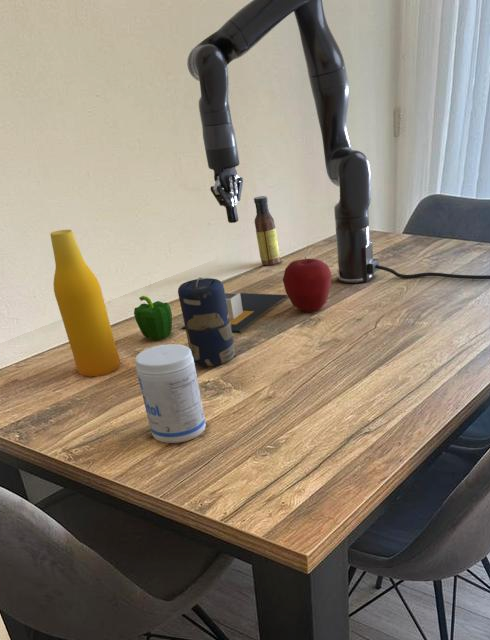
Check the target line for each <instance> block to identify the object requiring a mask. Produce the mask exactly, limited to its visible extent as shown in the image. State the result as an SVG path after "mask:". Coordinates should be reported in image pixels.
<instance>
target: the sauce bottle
mask: <svg viewBox="0 0 490 640" xmlns="http://www.w3.org/2000/svg"><path fill="white" fill-rule="evenodd" d="M268 201H269V200H268V196H266V195H261V196H256V197H253V202H254V204H255V205H254V206H255V212H256V214H255V218H254V227H255V234H256V239H257V246H258V251H259V257H260V262H261V264H262V265H263V266H275V265H277V264H279V263H281V256H280V255H281V254H280V247H279V241H278V236H277V235H278V234H277V229H276V225H275V224H276V223H275V219H274V217H273V216H272V214H271V213H270V211H269V206H268Z"/></svg>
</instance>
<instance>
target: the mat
mask: <svg viewBox="0 0 490 640" xmlns="http://www.w3.org/2000/svg"><path fill="white" fill-rule="evenodd" d="M239 293H240V296H241V302H242V309H243V313H242V314H240V315H239V316H238V317H236V318H235V319H230V323H231V331H232V333H235V334H239V333H241V332H242V331H241V330H243V329H244V328H246V327H247V326H249V324H251V323H253V322H254V321H255V320H256V319H258V318H259V317H260V316H261V315H263V314H264V313H266V312H267V311H269V310H270V309H271V308H273V307H274V306H275V305H277V304H278V303H279V302H281V301H282V300H283V299H285V298H286V297H288V295H287V294H272V293H271V294H270V293H247V292H246V293H244V292H239ZM182 330H186V329H185V325H184V326H182Z"/></svg>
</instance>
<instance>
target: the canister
mask: <svg viewBox="0 0 490 640" xmlns="http://www.w3.org/2000/svg"><path fill="white" fill-rule="evenodd" d="M225 293H226V291H225V287H224V283H223V282H222V281H221V280H219V279H217V278H210V277H204V278H203V277H198V278H195V279H192V280H188V281H185V282H183V283H181V284H180V285H179V286H178V289H177V294H178V295H177V296H178V300H179V304H180V309H181V315H182V319H183V324H184V326H185V329H184V330H185V334H186V338H187V344H188V348H190V350H191V353H192V356H193V359H194V364H195V365H197V366H201V367H216V366H220V365H223V364H226V363H228V362H230V361H231V360H233V359H234V357H235V355H236V350H235V343H234V338H233V332H232V331H231V323H230V319H229V313H228V308H227V302H226V296H225Z"/></svg>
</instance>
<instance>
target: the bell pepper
mask: <svg viewBox="0 0 490 640" xmlns="http://www.w3.org/2000/svg"><path fill="white" fill-rule="evenodd" d="M138 300H140V302H142V301H146V303H140V305H139V306H136V307H134V310H133V315H134V319H135V322H136V324H137V326H138V328H139V330H140V332H141V334H142V336H144V337H145V338H146V339H149V340H151V341H161V340H164V339H166V338H167V337H169V335H171V333H172V331H173V330H172V329H173V313H172V307H171V305H170V304H169V303H168V302H162V301H160V300H157V301H155V302H153V301H152V300H151V298H149V297H148V296H145V295H142V296H139V298H138Z"/></svg>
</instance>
